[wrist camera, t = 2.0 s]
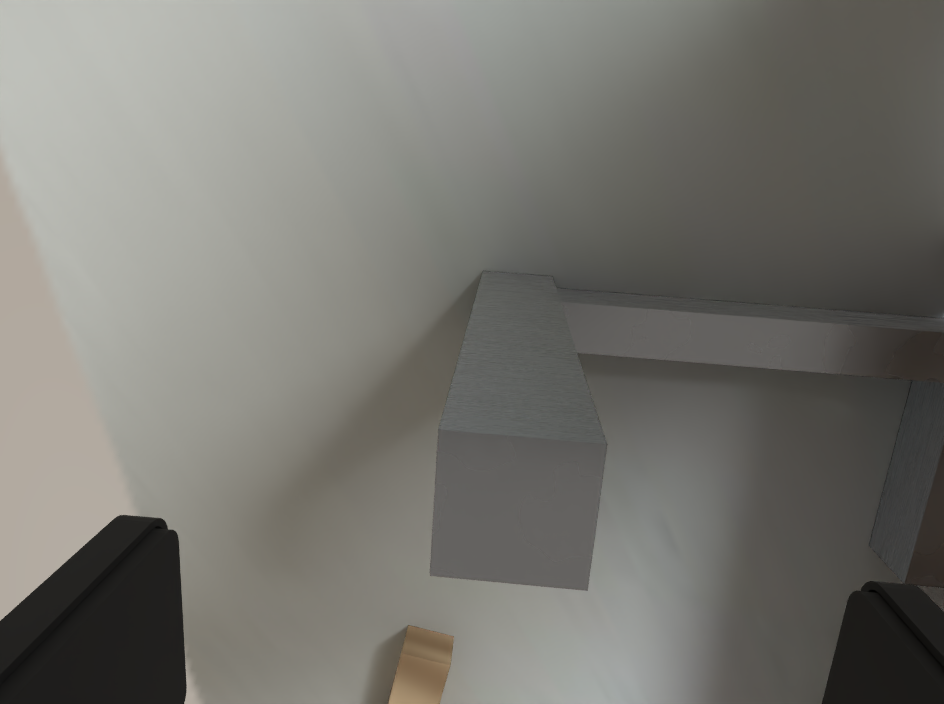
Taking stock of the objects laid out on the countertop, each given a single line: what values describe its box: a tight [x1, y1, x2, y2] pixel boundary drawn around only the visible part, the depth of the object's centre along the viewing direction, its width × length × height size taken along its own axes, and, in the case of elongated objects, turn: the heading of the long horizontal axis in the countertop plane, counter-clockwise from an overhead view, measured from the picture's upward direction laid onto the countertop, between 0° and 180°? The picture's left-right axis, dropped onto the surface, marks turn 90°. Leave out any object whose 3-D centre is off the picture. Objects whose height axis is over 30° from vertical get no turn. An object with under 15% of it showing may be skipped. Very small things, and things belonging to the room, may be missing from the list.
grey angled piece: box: [430, 271, 944, 591], centre depth 22 cm, size 12×22×18 cm, turn 86°
